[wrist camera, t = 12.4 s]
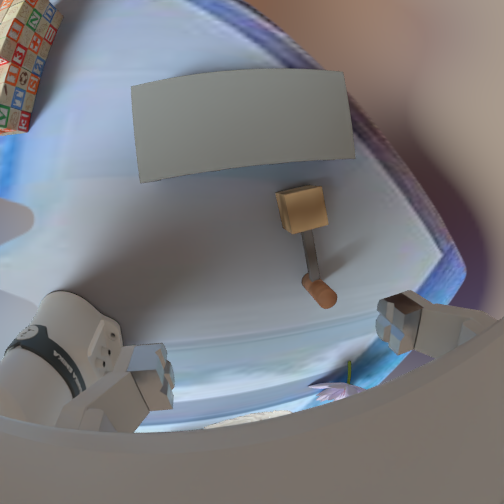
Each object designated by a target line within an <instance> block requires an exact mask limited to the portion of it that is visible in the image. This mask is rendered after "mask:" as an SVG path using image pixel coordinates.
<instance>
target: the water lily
mask: <svg viewBox="0 0 504 504" xmlns="http://www.w3.org/2000/svg"><path fill="white" fill-rule="evenodd" d="M350 378H351V361H348V379H347V383H321V384H315V385H311V386H308V387H311V388H321V389H322V388H328V389H326V390H324V391H322V392H320V393H319V394H317V395H316V396H320V397H318V398H317V399H316V400H321V401H324V400H327V399H328V400H332V399H334V401H336V400H339V399H342V398H345V397H348V396H351V395H354V394H357V393H359V392H362V391H365V390H366V389H363V388H361V387H358V386H354V385H351V384H350ZM321 401H320V402H321Z"/></svg>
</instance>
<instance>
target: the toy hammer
mask: <svg viewBox="0 0 504 504" xmlns="http://www.w3.org/2000/svg"><path fill="white" fill-rule="evenodd" d="M275 194H276V199H277V203H278V208H279V212H280V217H281V222H282V226H283V228H284V229H285V230H287V231H288V232H290V233H291V234H296V233H300V232H301V235H302V240H303V246H304V251H305V257H306V262H307V268H308V273H307V274H305V275H304V277H303V278H302V285H303V286H304V287H305V289H306V290H307V291H308V292H309V293H310V294H311V296H312V297H313V298H314V299H315V300H316V301H317V303H318V304H319V305H320V306H321V307H322V308H324V309H328V308H331V307H332V306H334V305H335V303H336V301H337V294H336V293H335V292H334V291H333V290H332V289H331V288H330V287H329V286H328V285H327V284H326V283H325V282H323V281H322V280H321V279H320V275H319V269H318V263H317V256H316V250H315V244H314V239H313V233H312V229H314V228H318V227H322V226H326V225H329V224H328V218H327V212H326V207H325V201H324V196H323V190H322V186H314V185H306V186H302V187H298V188H293V189H289V190H285V191H280V192H276V193H275Z"/></svg>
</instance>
